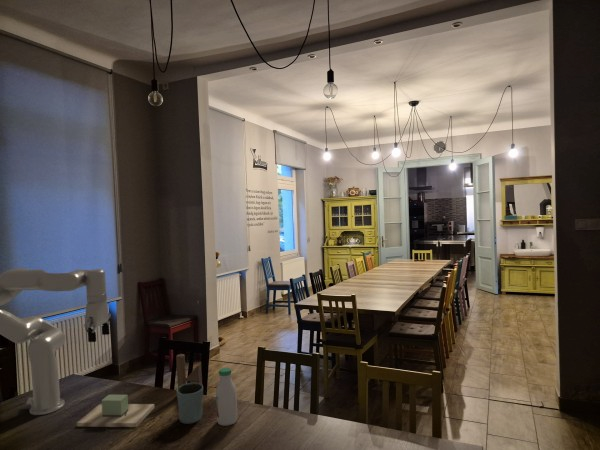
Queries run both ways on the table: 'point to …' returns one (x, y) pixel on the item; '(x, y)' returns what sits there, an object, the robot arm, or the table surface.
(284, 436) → the table surface
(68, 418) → the table surface
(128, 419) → the birch board
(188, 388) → the blue cup
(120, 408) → the block
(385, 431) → the table surface
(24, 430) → the table surface
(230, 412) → the milk bottle
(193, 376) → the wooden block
